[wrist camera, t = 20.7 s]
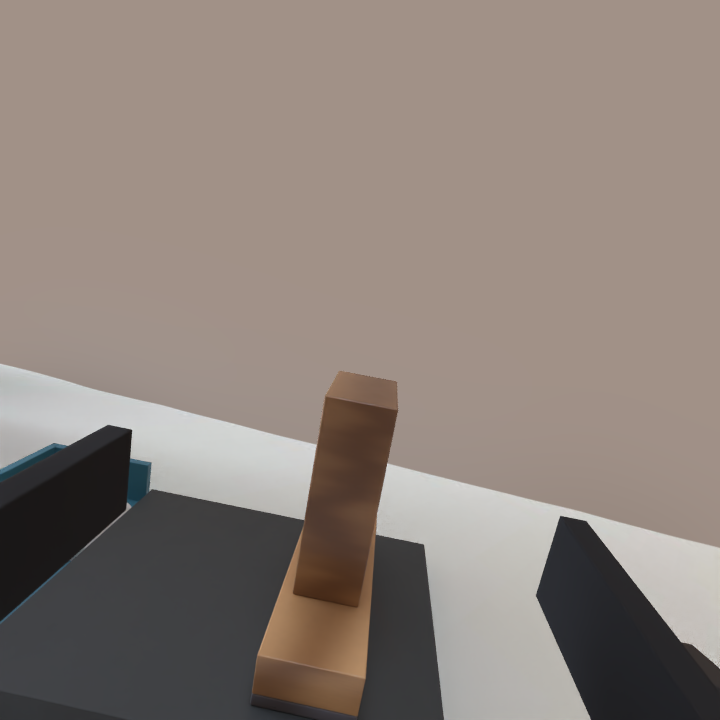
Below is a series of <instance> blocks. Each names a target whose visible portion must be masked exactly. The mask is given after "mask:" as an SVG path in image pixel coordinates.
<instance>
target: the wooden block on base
mask: <svg viewBox="0 0 720 720" xmlns="http://www.w3.org/2000/svg"><path fill="white" fill-rule="evenodd" d="M397 413H398V399H397V382H396V381H391V380H386V379H380V378H374V377H370V376H364V375H359V374H353V373H349V372H343V371H339V372H338V374H337V376H336V378H335V380H334V381H333V383H332V385H331V387H330V388H329V390H328V392H327V394H326V395H325V398H324V404H323V411H322V417H321V422H320V428H319V435H318V441H317V447H316V453H315V459H314V465H313V471H312V477H311V483H310V489H309V495H308V502H307V508H306V514H305V520H304V526H303V529H302V532H301V535H300V537H299V540H298V543H297V546H296V549H295V551H294V554H293V557H292V560H291V562H290V565H289V568H288V571H287V574H286V576H285V579H284V582H283V585H282V588H281V590H280V593H279V596H278V599H277V602H276V604H275V607H274V610H273V613H272V616H271V618H270V621H269V624H268V627H267V629H266V632H265V635H264V638H263V641H262V643H261V646H260V649H259V652H258V655H257V660H256V667H255V674H254V680H253V687H252V694H251V701H250V704H251V705H253V706H258V707H262V708H267V709H271V710H276V711H280V712H285V713H289V714H294V715H298V716H303V717H307V718H312V719H316V720H357V717H358V712H359V708H360V703H361V698H362V694H363V689H364V684H365V680H366V668H367V653H368V638H369V624H370V609H371V595H372V580H373V566H374V551H375V537H376V522H377V512H378V507H379V502H380V497H381V492H382V487H383V482H384V477H385V472H386V467H387V462H388V457H389V452H390V447H391V442H392V437H393V432H394V427H395V422H396V417H397Z"/></svg>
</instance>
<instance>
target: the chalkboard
mask: <svg viewBox="0 0 720 720" xmlns="http://www.w3.org/2000/svg"><path fill="white" fill-rule="evenodd" d="M303 526H304V520H300V519H295V518H290V517H285V516H281V515H276V514H271V513H266V512H261V511H256V510H251V509H246V508H241V507H236V506H231V505H226V504H222V503H217V502H212V501H207V500H202V499H197V498H192V497H187V496H182V495H177V494H172V493H167V492H162V491H158V490H153V489H152V490H151V491H150V492H148V493H147V494H146V495H145V496H144V497H143V498H142V499H141V500H139V501H138V502H137V503H136V504H135V505H134V506H133V507H132V508H130V509H129V510H128V511H127V512H126V513H125V514H124V515H123V516H121V517H120V518H119V519H118V520H117V521H116V522H115V523H114V524H112V525H111V526H110V527H109V528H108V529H107V530H106V531H105V532H103V533H102V534H101V535H100V536H99V537H98V538H97V539H95V540H94V541H93V542H92V543H91V544H90V545H89V546H88V547H86V548H85V549H84V550H83V551H82V552H81V553H80V554H79V555H77V556H76V557H75V558H74V559H73V560H72V561H71V562H70V563H68V564H67V565H66V566H65V567H64V568H63V569H62V570H61V571H59V572H58V573H57V574H56V575H55V576H54V577H53V578H52V579H50V580H49V581H48V582H47V583H46V584H45V585H44V586H43V587H41V588H40V589H39V590H38V591H37V592H36V593H35V594H34V595H32V596H31V597H30V598H29V599H28V600H27V601H26V602H25V603H23V604H22V605H21V606H20V607H19V608H18V609H17V610H16V611H14V612H13V613H12V614H11V615H10V616H9V617H8V618H6V619H5V620H4V621H3V622H2V623H1V624H0V720H316V719H312V718H307V717H303V716H298V715H294V714H289V713H285V712H280V711H276V710H271V709H267V708H262V707H258V706H253V705H251V704H250V701H251V694H252V687H253V680H254V674H255V667H256V660H257V655H258V652H259V649H260V646H261V643H262V641H263V638H264V635H265V632H266V629H267V627H268V624H269V621H270V618H271V616H272V613H273V610H274V607H275V604H276V602H277V599H278V596H279V593H280V590H281V588H282V585H283V582H284V579H285V576H286V574H287V571H288V568H289V565H290V562H291V560H292V557H293V554H294V551H295V549H296V546H297V543H298V540H299V537H300V535H301V532H302V529H303ZM357 720H444V716H443V708H442V699H441V690H440V681H439V672H438V664H437V655H436V646H435V637H434V628H433V620H432V611H431V602H430V593H429V585H428V576H427V567H426V558H425V549H424V545H423V544H418V543H413V542H409V541H404V540H399V539H394V538H389V537H384V536H379V535H376V537H375V551H374V566H373V580H372V595H371V609H370V624H369V638H368V653H367V668H366V680H365V684H364V689H363V694H362V698H361V703H360V708H359V712H358V717H357Z"/></svg>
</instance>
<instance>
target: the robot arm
mask: <svg viewBox="0 0 720 720" xmlns="http://www.w3.org/2000/svg"><path fill="white" fill-rule="evenodd" d="M131 438H132V430H131V429H126V428H121V427H116V426H111V425H107V426H105V427H103V428H101V429H100V430H98V431H96V432H94V433H92V434H90V435H88V436H86V437H84V438H83V439H81V440H79V441H77V442H75V443H73V444H71V445H69V446H68V447H66V448H64V449H62V450H60V451H58V452H56V453H54V454H52V455H51V456H49V457H47V458H45V459H43V460H41V461H39V462H37V463H35V464H34V465H32V466H30V467H28V468H26V469H24V470H22V471H20V472H19V473H17V474H15V475H13V476H11V477H9V478H7V479H5V480H3V481H2V482H0V621H2V620H3V619H4V618H5V617H6V616H7V615H8V614H10V613H11V612H12V611H13V610H14V609H15V608H16V607H17V606H19V605H20V604H21V603H22V602H23V601H24V600H25V599H26V598H28V597H29V596H30V595H31V594H32V593H33V592H34V591H35V590H37V589H38V588H39V587H40V586H41V585H42V584H43V583H44V582H46V581H47V580H48V579H49V578H50V577H51V576H52V575H54V574H55V573H56V572H57V571H58V570H59V569H60V568H61V567H63V566H64V565H65V564H66V563H67V562H68V561H69V560H70V559H72V558H73V557H74V556H75V555H76V554H77V553H78V552H79V551H81V550H82V549H83V548H84V547H85V546H86V545H87V544H89V543H90V542H91V541H92V540H93V539H94V538H95V537H96V536H98V535H99V534H100V533H101V532H102V531H103V530H104V529H105V528H107V527H108V526H109V525H110V524H111V523H112V522H113V521H114V520H116V519H117V518H118V517H119V516H120V515H121V514H122V513H123V512H125V511H126V507H127V493H128V479H129V466H130V452H131ZM536 597H537V599H538V601H539V603H540V606H541V608H542V610H543V612H544V615H545V617H546V619H547V621H548V624H549V626H550V628H551V630H552V633H553V635H554V637H555V639H556V642H557V644H558V646H559V648H560V651H561V653H562V655H563V657H564V660H565V662H566V664H567V666H568V669H569V671H570V673H571V675H572V678H573V680H574V682H575V684H576V687H577V689H578V691H579V693H580V696H581V698H582V700H583V702H584V705H585V707H586V709H587V711H588V714H589V716H590V718H591V720H720V669H719V668H718V667H717V666H716V665H715V664H714V663H713V662H711V661H710V660H709V659H708V658H707V657H706V656H704V655H703V654H702V653H701V652H700V651H699V650H697V649H696V648H695V647H694V646H693V645H691V644H686V643H681V642H680V640H679V639H678V638H677V637H676V635H675V634H674V633H673V631H672V630H671V629H670V628H669V626H668V625H667V624H666V623H665V621H664V620H663V619H662V617H661V616H660V615H659V614H658V612H657V611H656V610H655V608H654V607H653V606H652V605H651V603H650V602H649V601H648V599H647V598H646V597H645V596H644V594H643V593H642V592H641V591H640V589H639V588H638V587H637V585H636V584H635V583H634V582H633V580H632V579H631V578H630V576H629V575H628V574H627V573H626V571H625V570H624V569H623V568H622V566H621V565H620V564H619V562H618V561H617V560H616V559H615V557H614V556H613V555H612V553H611V552H610V551H609V550H608V548H607V547H606V546H605V544H604V543H603V542H602V541H601V539H600V538H599V537H598V536H597V534H596V533H595V532H594V530H593V529H592V528H591V527H590V525H589V524H588V523H587V521H583V520H578V519H573V518H568V517H563V516H560V519H559V522H558V525H557V528H556V532H555V535H554V538H553V541H552V545H551V548H550V551H549V554H548V558H547V561H546V564H545V568H544V571H543V574H542V577H541V581H540V584H539V587H538V590H537V594H536Z"/></svg>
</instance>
